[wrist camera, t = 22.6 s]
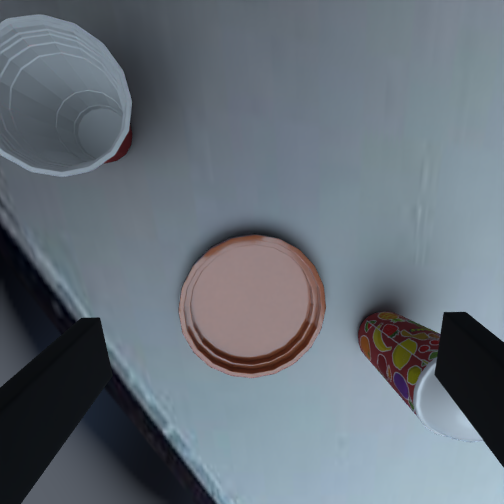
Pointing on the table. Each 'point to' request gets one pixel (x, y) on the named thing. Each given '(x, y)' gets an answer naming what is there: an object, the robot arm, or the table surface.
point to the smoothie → (414, 371)
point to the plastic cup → (60, 98)
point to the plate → (252, 305)
